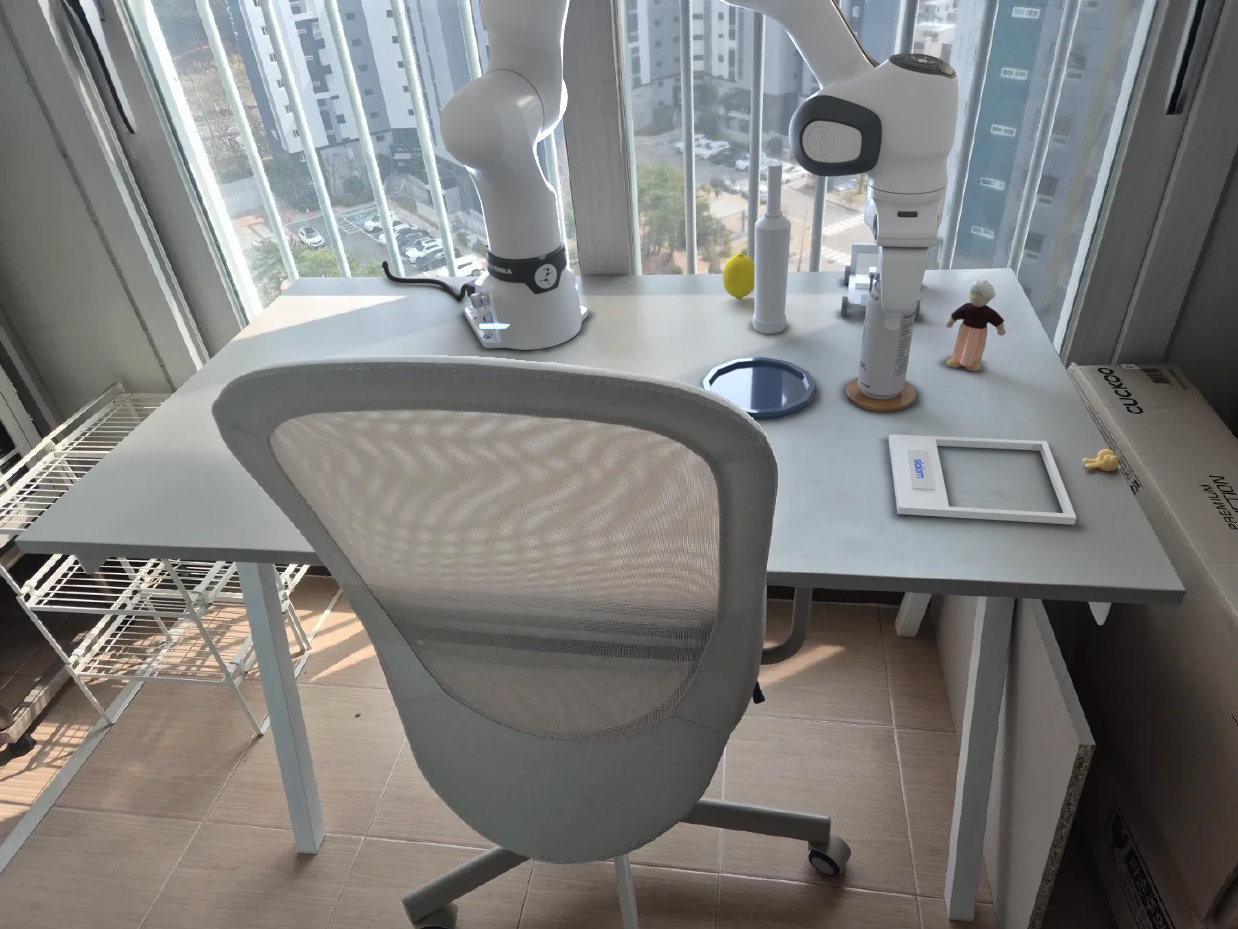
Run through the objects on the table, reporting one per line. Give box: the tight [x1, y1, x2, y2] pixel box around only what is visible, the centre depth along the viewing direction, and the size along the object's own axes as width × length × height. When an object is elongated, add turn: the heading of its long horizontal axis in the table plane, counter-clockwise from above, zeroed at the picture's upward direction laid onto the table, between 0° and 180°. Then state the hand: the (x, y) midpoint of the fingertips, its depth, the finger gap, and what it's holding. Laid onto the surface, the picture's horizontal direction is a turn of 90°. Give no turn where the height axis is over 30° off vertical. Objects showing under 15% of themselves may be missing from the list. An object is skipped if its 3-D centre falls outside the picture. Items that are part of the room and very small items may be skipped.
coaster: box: [845, 377, 917, 413], centre depth 115 cm, size 9×9×1 cm
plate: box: [701, 356, 816, 421], centre depth 117 cm, size 15×15×1 cm
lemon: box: [722, 252, 755, 301], centre depth 140 cm, size 6×6×8 cm
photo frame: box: [888, 434, 1077, 526], centre depth 98 cm, size 15×1×18 cm
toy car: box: [840, 241, 921, 320], centre depth 135 cm, size 18×10×12 cm
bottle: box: [752, 161, 792, 335], centre depth 126 cm, size 5×5×25 cm
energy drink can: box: [857, 280, 917, 400], centre depth 110 cm, size 6×6×15 cm
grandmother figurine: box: [944, 279, 1007, 372], centre depth 116 cm, size 8×4×13 cm, turn 70°
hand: (890, 314), depth 108 cm, fingers closed on energy drink can, 6 cm apart
